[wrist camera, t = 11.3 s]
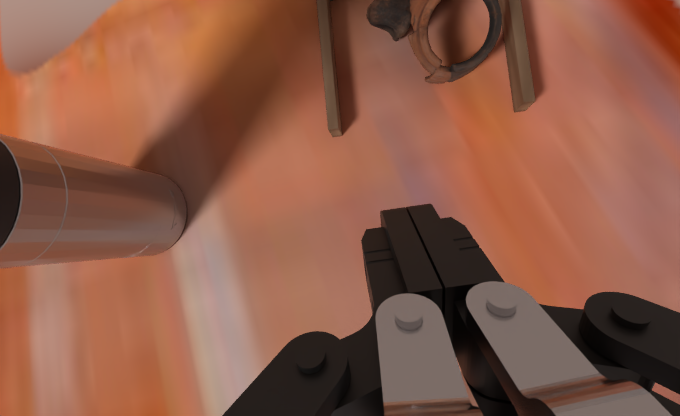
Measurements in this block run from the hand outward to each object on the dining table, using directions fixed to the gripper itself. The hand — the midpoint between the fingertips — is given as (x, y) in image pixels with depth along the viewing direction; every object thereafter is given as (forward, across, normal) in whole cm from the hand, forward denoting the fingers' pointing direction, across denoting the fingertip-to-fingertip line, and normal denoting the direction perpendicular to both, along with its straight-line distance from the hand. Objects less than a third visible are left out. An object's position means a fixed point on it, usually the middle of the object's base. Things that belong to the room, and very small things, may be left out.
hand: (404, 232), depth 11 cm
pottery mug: (+30, -9, -2) cm, 32 cm away
